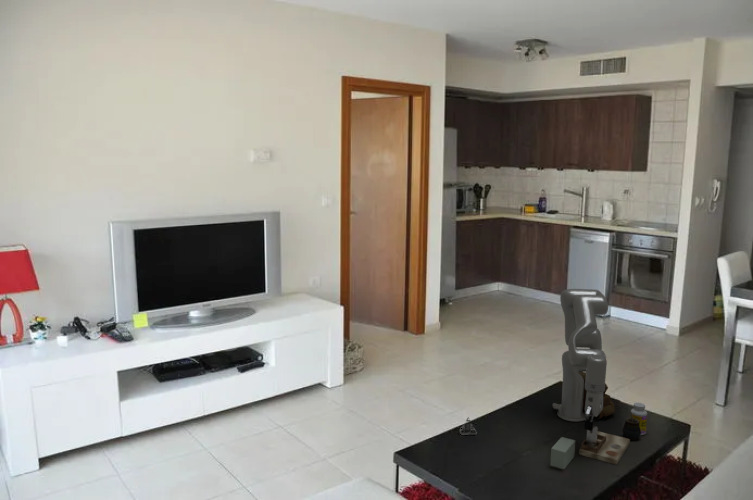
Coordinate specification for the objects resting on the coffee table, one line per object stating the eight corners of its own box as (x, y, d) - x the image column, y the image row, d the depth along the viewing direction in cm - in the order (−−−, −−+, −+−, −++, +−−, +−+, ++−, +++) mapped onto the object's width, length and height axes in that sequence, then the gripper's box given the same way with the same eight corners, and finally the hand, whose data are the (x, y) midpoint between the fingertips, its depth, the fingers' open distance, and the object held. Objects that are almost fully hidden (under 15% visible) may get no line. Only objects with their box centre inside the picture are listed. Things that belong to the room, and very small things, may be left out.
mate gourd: (625, 441, 261) (627, 419, 259) (619, 433, 268) (620, 411, 267) (642, 441, 260) (644, 419, 259) (635, 433, 268) (637, 412, 266)
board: (578, 454, 249) (579, 445, 248) (594, 434, 267) (594, 426, 266) (616, 464, 240) (617, 455, 240) (629, 443, 258) (630, 435, 258)
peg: (584, 448, 250) (586, 427, 248) (587, 444, 253) (588, 424, 252) (594, 451, 247) (596, 429, 246) (597, 447, 251) (598, 426, 249)
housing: (550, 465, 240) (551, 448, 239) (560, 453, 250) (561, 436, 249) (564, 469, 237) (565, 452, 236) (574, 456, 247) (575, 440, 246)
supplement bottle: (641, 437, 264) (643, 409, 263) (626, 432, 269) (628, 404, 267) (648, 432, 269) (650, 404, 267) (633, 427, 274) (635, 400, 272)
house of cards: (478, 427, 273) (478, 411, 272) (480, 436, 265) (481, 419, 264) (458, 427, 274) (458, 411, 273) (459, 436, 265) (460, 419, 264)
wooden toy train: (566, 408, 295) (567, 375, 293) (580, 402, 302) (582, 370, 299) (602, 422, 279) (604, 387, 277) (617, 416, 286) (619, 382, 283)
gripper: (598, 395, 237) (595, 436, 241) (610, 380, 251) (606, 419, 255) (579, 391, 242) (576, 431, 245) (591, 376, 256) (588, 414, 259)
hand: (591, 425), depth 250 cm, fingers open, 9 cm apart
